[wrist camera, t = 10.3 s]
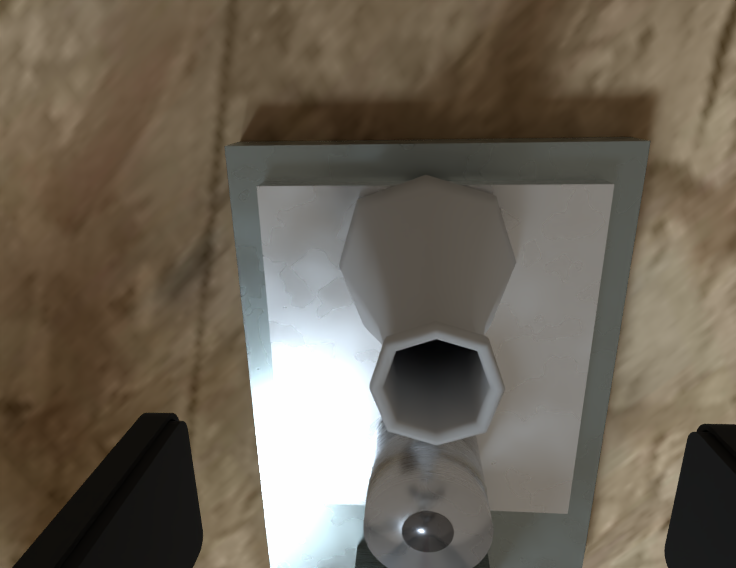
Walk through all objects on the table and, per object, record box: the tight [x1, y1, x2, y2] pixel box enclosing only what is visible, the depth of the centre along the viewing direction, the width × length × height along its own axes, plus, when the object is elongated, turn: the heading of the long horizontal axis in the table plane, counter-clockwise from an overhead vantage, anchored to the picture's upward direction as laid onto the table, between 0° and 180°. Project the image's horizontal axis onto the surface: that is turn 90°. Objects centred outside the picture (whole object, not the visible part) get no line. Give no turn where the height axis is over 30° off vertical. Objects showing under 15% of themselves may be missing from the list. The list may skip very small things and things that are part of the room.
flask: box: [339, 175, 516, 445], centre depth 17 cm, size 7×7×10 cm
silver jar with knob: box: [363, 421, 493, 568], centre depth 23 cm, size 5×5×5 cm
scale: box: [225, 137, 650, 568], centre depth 21 cm, size 17×24×12 cm
